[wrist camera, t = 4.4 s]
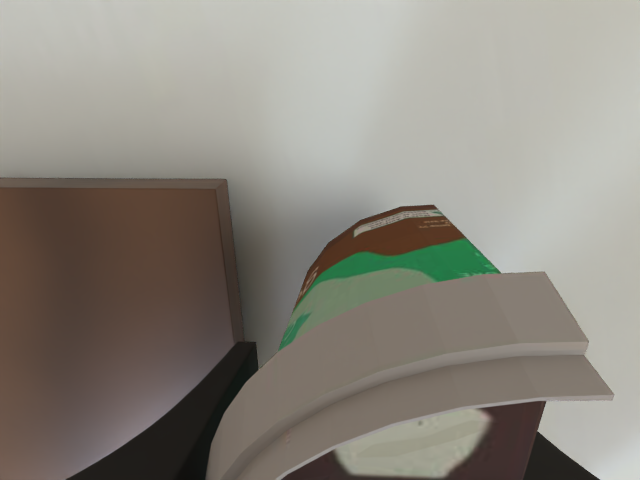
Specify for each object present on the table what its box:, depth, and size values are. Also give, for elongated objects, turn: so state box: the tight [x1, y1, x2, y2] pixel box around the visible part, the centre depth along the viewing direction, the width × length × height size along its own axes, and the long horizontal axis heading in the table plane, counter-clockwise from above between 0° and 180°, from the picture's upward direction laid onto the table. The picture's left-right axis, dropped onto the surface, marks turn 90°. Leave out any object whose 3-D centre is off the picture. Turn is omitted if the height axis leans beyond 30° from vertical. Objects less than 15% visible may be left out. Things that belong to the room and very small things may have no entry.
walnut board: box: [0, 178, 244, 480], centre depth 20 cm, size 16×22×2 cm
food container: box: [205, 205, 614, 480], centre depth 12 cm, size 12×6×10 cm, turn 0°
